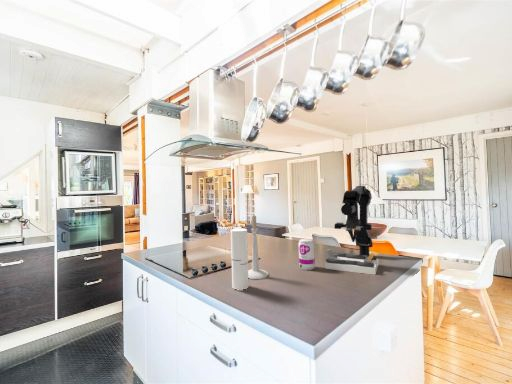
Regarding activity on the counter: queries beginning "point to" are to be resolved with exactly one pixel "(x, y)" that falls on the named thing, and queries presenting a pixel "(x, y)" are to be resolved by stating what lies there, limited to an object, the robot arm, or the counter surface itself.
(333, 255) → the paddle grey
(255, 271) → the candlestick
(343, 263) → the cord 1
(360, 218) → the robot arm
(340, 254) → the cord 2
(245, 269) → the cylindrical container
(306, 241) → the supplement can
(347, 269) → the white tray
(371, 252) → the orange brick
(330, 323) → the counter surface
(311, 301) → the counter surface
